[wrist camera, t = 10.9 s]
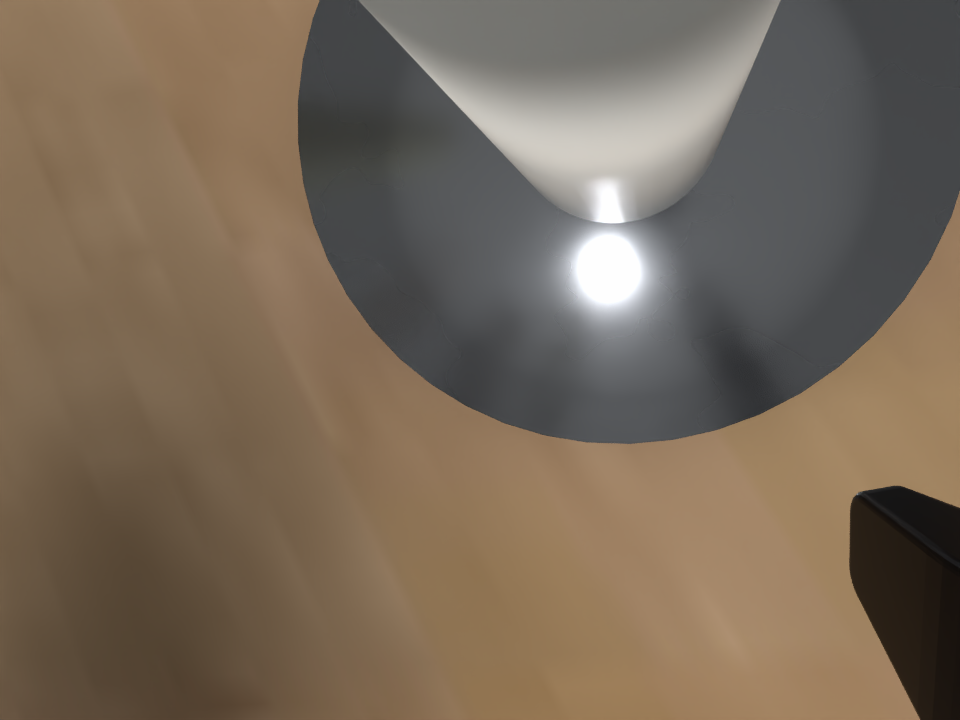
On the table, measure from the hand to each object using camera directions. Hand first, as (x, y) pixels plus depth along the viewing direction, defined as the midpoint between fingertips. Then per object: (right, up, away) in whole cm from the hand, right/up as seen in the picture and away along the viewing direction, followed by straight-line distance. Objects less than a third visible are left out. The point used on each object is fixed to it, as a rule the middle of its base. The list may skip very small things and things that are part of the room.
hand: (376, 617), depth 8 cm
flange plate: (+4, +8, +12) cm, 15 cm away
